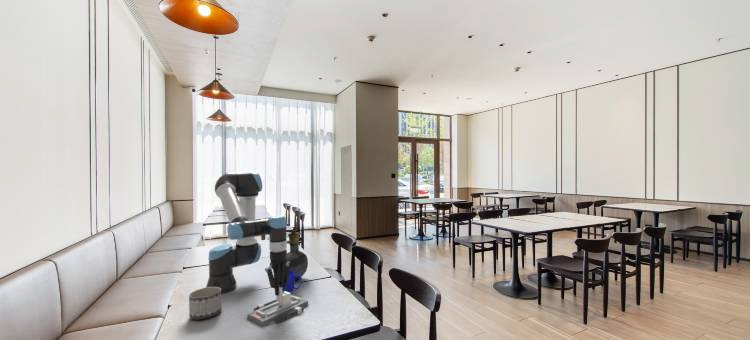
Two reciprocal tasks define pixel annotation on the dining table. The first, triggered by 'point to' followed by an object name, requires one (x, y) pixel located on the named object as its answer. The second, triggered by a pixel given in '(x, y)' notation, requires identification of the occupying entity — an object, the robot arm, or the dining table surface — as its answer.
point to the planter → (205, 303)
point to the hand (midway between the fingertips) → (279, 301)
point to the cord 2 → (290, 314)
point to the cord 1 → (264, 305)
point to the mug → (291, 282)
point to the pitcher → (296, 255)
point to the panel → (275, 311)
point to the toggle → (285, 299)
